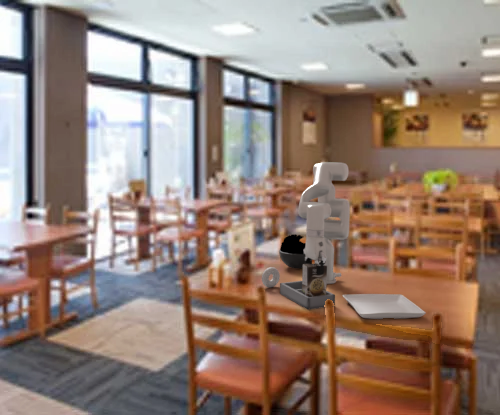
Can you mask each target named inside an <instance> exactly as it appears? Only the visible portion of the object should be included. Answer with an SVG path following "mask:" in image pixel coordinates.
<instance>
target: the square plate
mask: <svg viewBox="0 0 500 415" xmlns="http://www.w3.org/2000/svg"><path fill="white" fill-rule="evenodd" d="M342 298H343V299H345V301H347V302H348V304H349V305H350V306H351V307H352V308H353V309H354V310H355V312H356V313H357V314H358V315H359V316H360V317H362V318H363V319H370V320H373V319H375V320H376V319H377V320H382V319H383V318H394V319H411V318H420V317H423V316H424V315H426V313H427V312H426V311H424V310H423V309H422V308H421V307H420V306H418V305H416V304H415V303H414V302H413V301H411V300H410V299H408V298H407V297H406V296H405V295H403V294H394V293H393V294H392V293H391V294H388V293H385V294H384V293H361V294H360V293H358V294H357V293H355V294H342ZM383 320H384V319H383Z"/></svg>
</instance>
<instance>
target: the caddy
mask: <svg viewBox="0 0 500 415" xmlns="http://www.w3.org/2000/svg"><path fill="white" fill-rule="evenodd" d="M279 294H280V295H281V296H283V297H285V298H287V299H288V300H290V301H292V302H293V303H295V304H297V305H299V306H300V307H302V308H304V309H306V310H315V309H316V310H317V309H325V308H324V305H325V301H326V300H327V299H330V300H332V301H333V303H334V305H335V304H336V294H335V293H333V292H330V291H328V290H326V295H322V296H314V297H308V296H306V295H304V294H302V280H297V281H289V282H288V281H287V282H280V283H279Z"/></svg>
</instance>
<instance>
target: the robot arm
mask: <svg viewBox="0 0 500 415" xmlns="http://www.w3.org/2000/svg"><path fill="white" fill-rule="evenodd" d="M312 172H313V180H312V185H310V186H309V187H307V188H306V189H305V190H304V191H303V192H302V193H301V195H300V199H299V204H298V208H297V209H298V212H297V213H298V215H299V217H300V218H301V219H306V225H305V226H306V229H305V230H306V232H305V233H306V234H305V236H306V239H305V243H306V245H305V249H304V250H303V251H304V257H305V264H313V261H314V264H315V263H317V264H318V266H317V275H323V274H324V265H326V266H327V282H326V285H331V284H335V283H336V282H337V278H340V277H342V273H341V272H334V263H335V262H334V259H335V258H334V257H335V253H334V252H335V247H334V245H333V243H332V241H331V240H347V239H348V237H349V235H350V219H351V218H350V215H351V214H350V213H351V211H350V210H351V208H350V202H349V201H348V200H347V199H345V198H337V197H336V187H335V185H334V184H333V183H332V181H343V182H345V181H346V180H347V178H348V177H349V172H350V171H349V166H348V165H347V163H344V162H331V161H330V162H329V161H326V162H325V161H323V162H320V163H315V164H314V165H313V168H312ZM314 199H317V201H312V200H314ZM329 218H335V219H336V218H339V220H337V219H336V220H335V219H329ZM311 259H313V260H311Z"/></svg>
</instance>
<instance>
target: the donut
mask: <svg viewBox="0 0 500 415" xmlns="http://www.w3.org/2000/svg"><path fill="white" fill-rule="evenodd" d="M271 275H272V278H271V280H270V279H269V278H270V276H271ZM279 281H280V272H279V270H278V269H277V268H276V267H272V266H270V267H267V268H266V269H264V271H263V273H262V274H261V282H262V285H263V286H264V287H266V288H273V287H276V286H277V284H278V283H279Z"/></svg>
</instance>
